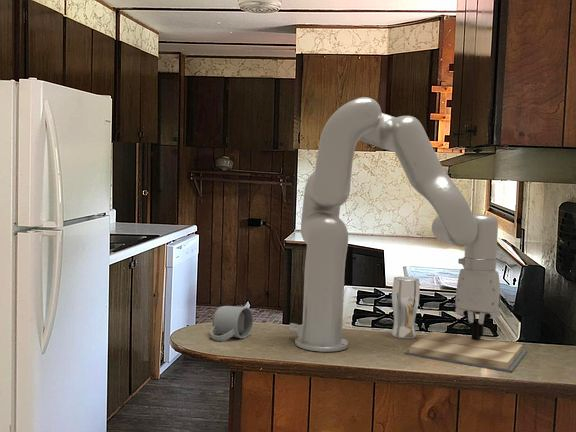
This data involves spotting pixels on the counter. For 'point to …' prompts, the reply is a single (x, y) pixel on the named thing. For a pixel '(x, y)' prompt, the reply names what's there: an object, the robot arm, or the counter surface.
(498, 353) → the board
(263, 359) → the counter surface
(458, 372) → the counter surface
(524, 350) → the underlay mat
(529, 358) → the counter surface
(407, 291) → the beer glass
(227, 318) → the ceramic mug
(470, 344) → the loose plank
